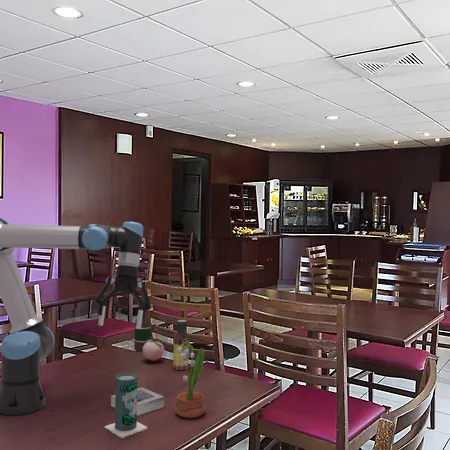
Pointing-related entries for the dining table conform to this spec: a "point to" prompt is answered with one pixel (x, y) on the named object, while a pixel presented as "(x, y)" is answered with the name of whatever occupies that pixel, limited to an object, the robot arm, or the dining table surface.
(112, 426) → the tile
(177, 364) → the sauce bottle
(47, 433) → the dining table surface
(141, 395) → the collar
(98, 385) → the dining table surface
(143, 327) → the beer bottle
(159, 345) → the decorative fruit
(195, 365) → the potted flower
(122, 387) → the can
